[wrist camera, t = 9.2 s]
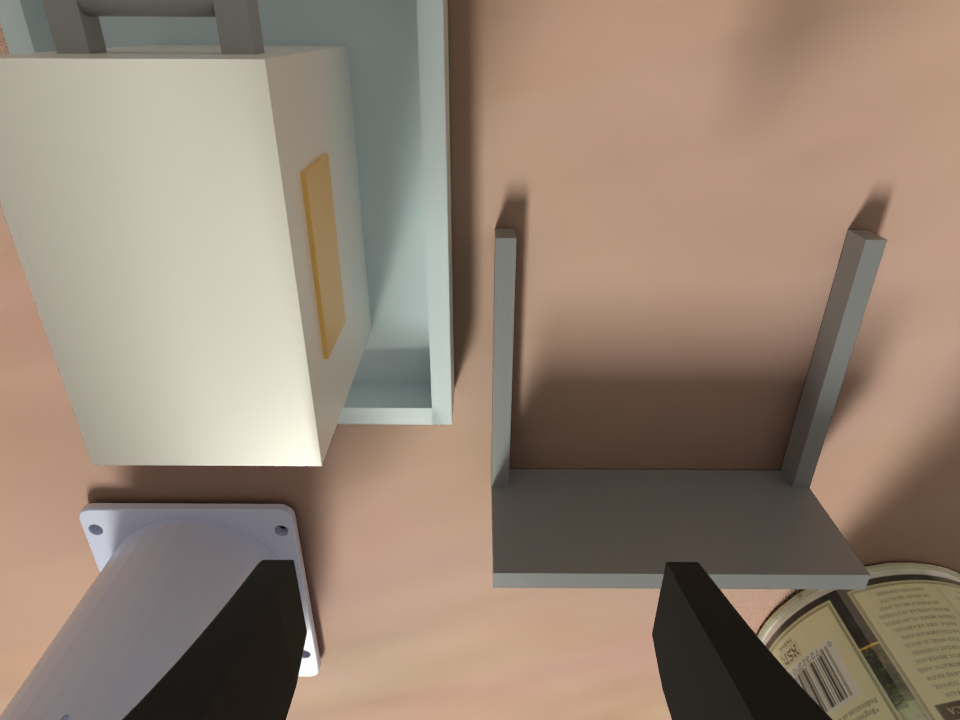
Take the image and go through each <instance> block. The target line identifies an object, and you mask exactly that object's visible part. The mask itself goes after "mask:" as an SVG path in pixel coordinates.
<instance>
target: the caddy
mask: <svg viewBox="0 0 960 720" xmlns="http://www.w3.org/2000/svg"><path fill="white" fill-rule="evenodd" d="M42 1H43V5H44V9H45V12H46V16H47V19H48V23H49V27H50V30H51V34H52V37H53V41H54V45H55V48H56V51H49V52H34V53H18V54H3V55H0V204H1V207H2V210H3V212H4V215H5V218H6V221H7V224H8V227H9V230H10V232H11V235H12V238H13V241H14V244H15V247H16V249H17V252H18V255H19V258H20V261H21V264H22V267H23V269H24V272H25V275H26V278H27V281H28V284H29V287H30V289H31V292H32V295H33V298H34V301H35V304H36V306H37V309H38V312H39V315H40V318H41V321H42V324H43V326H44V329H45V332H46V335H47V338H48V341H49V344H50V346H51V349H52V352H53V355H54V358H55V361H56V363H57V366H58V369H59V372H60V375H61V378H62V381H63V383H64V386H65V389H66V392H67V395H68V398H69V400H70V403H71V406H72V409H73V412H74V415H75V418H76V420H77V423H78V426H79V429H80V432H81V435H82V438H83V440H84V443H85V446H86V449H87V452H88V455H89V457H90V460H91V463H92V465H191V466H322V465H323V462H324V459H325V456H326V454H327V451H328V448H329V445H330V443H331V440H332V437H333V434H334V432H335V429H336V426H337V423H338V421H339V418H340V415H341V412H342V410H343V407H344V404H345V401H346V398H347V396H348V393H349V390H350V387H351V385H352V382H353V379H354V376H355V374H356V371H357V368H358V365H359V363H360V360H361V357H362V354H363V352H364V349H365V346H366V343H367V341H368V338H369V335H370V332H371V330H372V327H371V315H370V303H369V292H368V280H367V268H366V256H365V244H364V232H363V220H362V208H361V197H360V185H359V173H358V161H357V149H356V137H355V125H354V113H353V101H352V90H351V78H350V66H349V54H348V46H326V45H263V37H262V30H261V23H260V16H259V9H258V2H257V0H42ZM98 16H100V17H216V23H217V29H218V35H219V41H220V45H141V46H126V47H110V48H106V46H105V41H104V37H103V33H102V29H101V25H100V21H99V17H98Z"/></svg>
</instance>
